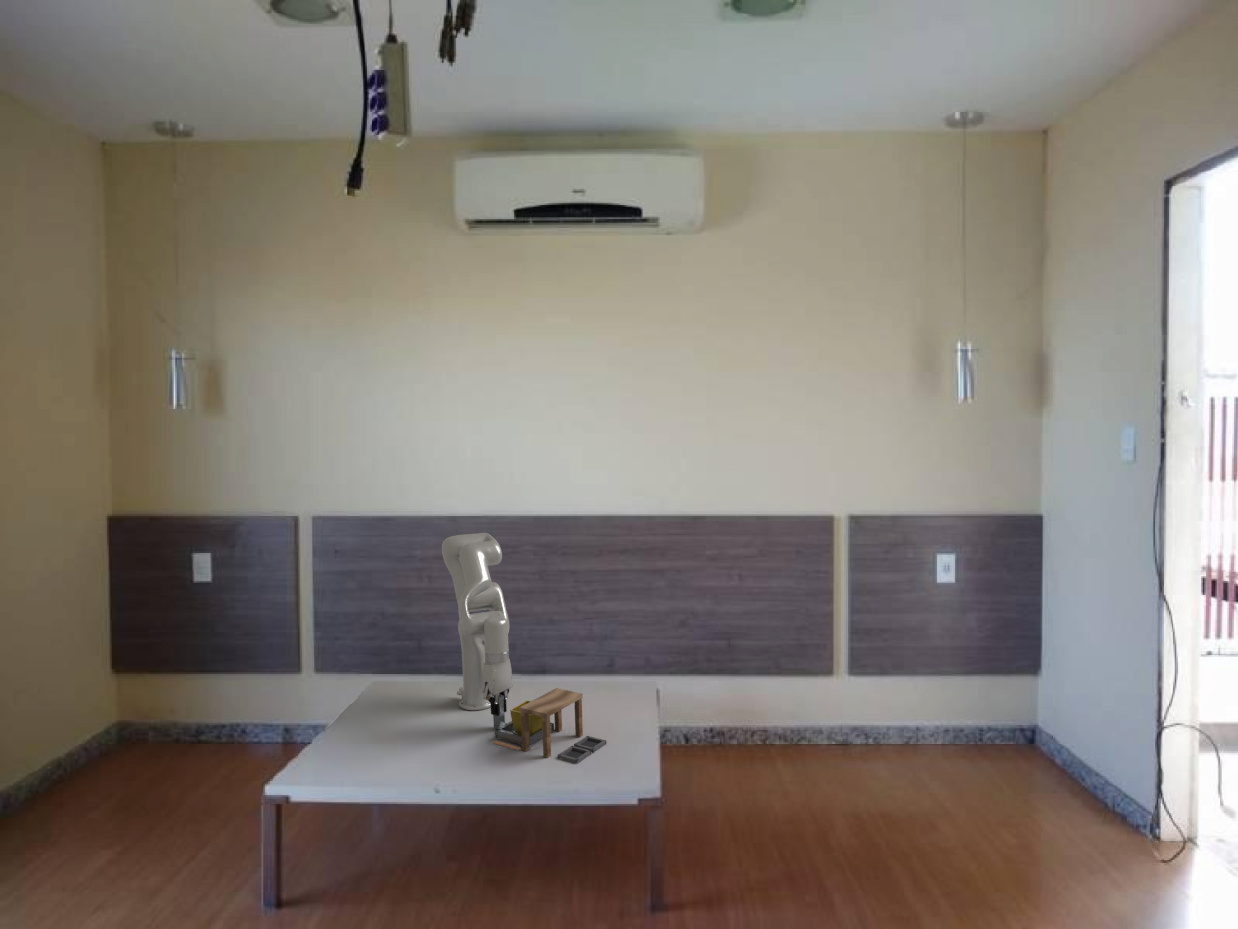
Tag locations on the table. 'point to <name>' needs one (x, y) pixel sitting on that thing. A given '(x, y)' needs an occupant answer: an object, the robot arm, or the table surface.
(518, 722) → the flower pot
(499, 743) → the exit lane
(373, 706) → the table surface
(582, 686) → the table surface
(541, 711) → the small wooden table
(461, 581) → the robot arm
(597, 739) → the frames
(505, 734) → the grey tray with upright
